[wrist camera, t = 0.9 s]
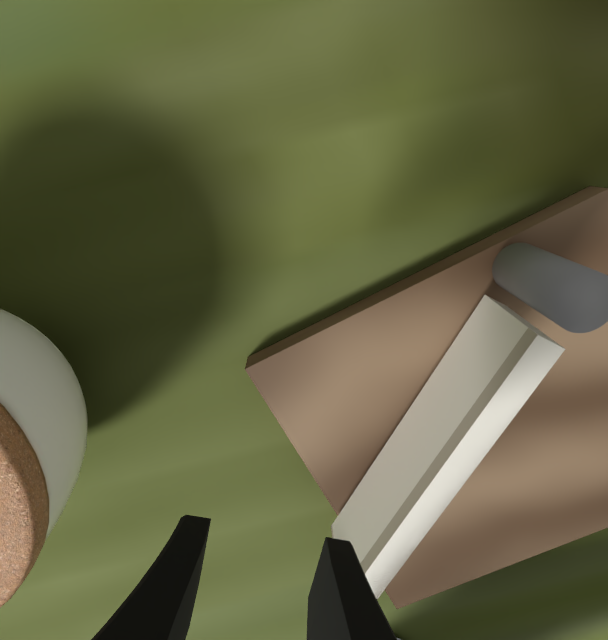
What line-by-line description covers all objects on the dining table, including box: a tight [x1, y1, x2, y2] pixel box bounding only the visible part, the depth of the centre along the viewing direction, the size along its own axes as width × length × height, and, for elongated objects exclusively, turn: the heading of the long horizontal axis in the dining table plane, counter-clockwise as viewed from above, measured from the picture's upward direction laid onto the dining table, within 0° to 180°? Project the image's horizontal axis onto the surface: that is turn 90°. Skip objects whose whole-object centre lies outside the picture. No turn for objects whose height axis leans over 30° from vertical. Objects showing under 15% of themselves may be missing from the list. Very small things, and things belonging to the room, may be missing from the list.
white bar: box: [331, 243, 608, 599], centre depth 17 cm, size 14×2×4 cm, turn 153°
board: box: [245, 186, 608, 609], centre depth 19 cm, size 15×15×5 cm
